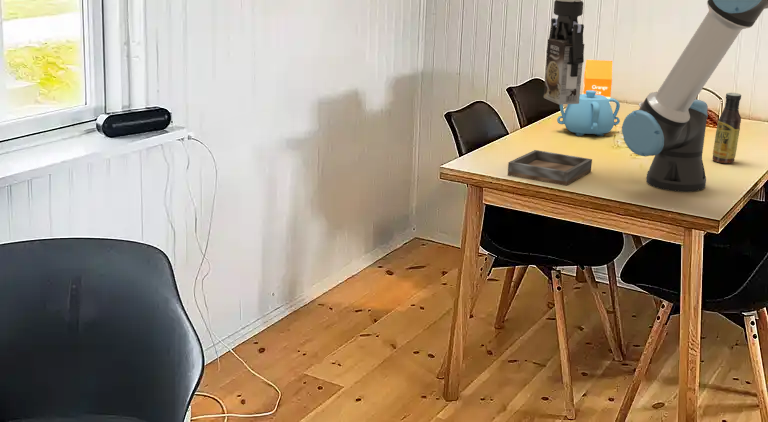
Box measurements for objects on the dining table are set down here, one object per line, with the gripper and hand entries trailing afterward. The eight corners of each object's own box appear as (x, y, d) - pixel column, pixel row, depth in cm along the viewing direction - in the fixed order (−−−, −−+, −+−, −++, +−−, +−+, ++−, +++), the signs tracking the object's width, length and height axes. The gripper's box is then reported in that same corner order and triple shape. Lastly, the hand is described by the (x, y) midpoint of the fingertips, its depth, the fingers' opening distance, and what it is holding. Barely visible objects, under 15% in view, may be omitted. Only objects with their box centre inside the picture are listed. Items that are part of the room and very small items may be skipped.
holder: (591, 171, 274) (592, 159, 273) (566, 185, 260) (567, 172, 259) (534, 161, 283) (535, 149, 282) (507, 174, 269) (508, 162, 268)
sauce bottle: (707, 159, 289) (715, 92, 283) (724, 158, 291) (733, 90, 285) (722, 165, 283) (731, 96, 277) (740, 163, 286) (749, 95, 280)
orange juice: (580, 116, 343) (585, 57, 337) (606, 117, 342) (612, 59, 336) (581, 120, 336) (586, 61, 330) (608, 122, 335) (613, 62, 328)
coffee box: (542, 98, 272) (546, 38, 267) (563, 97, 274) (568, 38, 269) (558, 105, 264) (563, 43, 259) (580, 103, 266) (585, 43, 261)
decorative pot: (584, 125, 330) (587, 84, 326) (623, 134, 318) (627, 91, 314) (551, 131, 320) (554, 89, 316) (590, 141, 309) (594, 97, 304)
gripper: (602, 4, 252) (594, 92, 259) (562, -5, 272) (556, 77, 279) (576, 4, 250) (568, 93, 257) (537, -5, 270) (531, 78, 276)
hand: (562, 85), depth 268 cm, fingers closed on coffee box, 9 cm apart
